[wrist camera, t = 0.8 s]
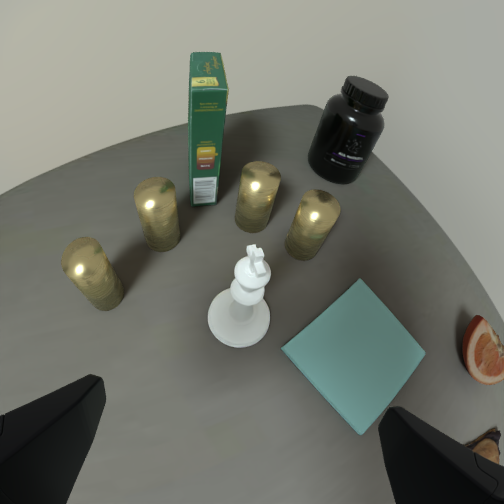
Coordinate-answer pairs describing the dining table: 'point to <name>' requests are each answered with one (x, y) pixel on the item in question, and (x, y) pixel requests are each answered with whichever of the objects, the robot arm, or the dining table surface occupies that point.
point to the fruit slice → (483, 352)
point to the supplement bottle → (348, 130)
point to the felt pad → (356, 355)
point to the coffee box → (206, 125)
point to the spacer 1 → (92, 273)
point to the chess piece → (243, 303)
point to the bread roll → (487, 445)
